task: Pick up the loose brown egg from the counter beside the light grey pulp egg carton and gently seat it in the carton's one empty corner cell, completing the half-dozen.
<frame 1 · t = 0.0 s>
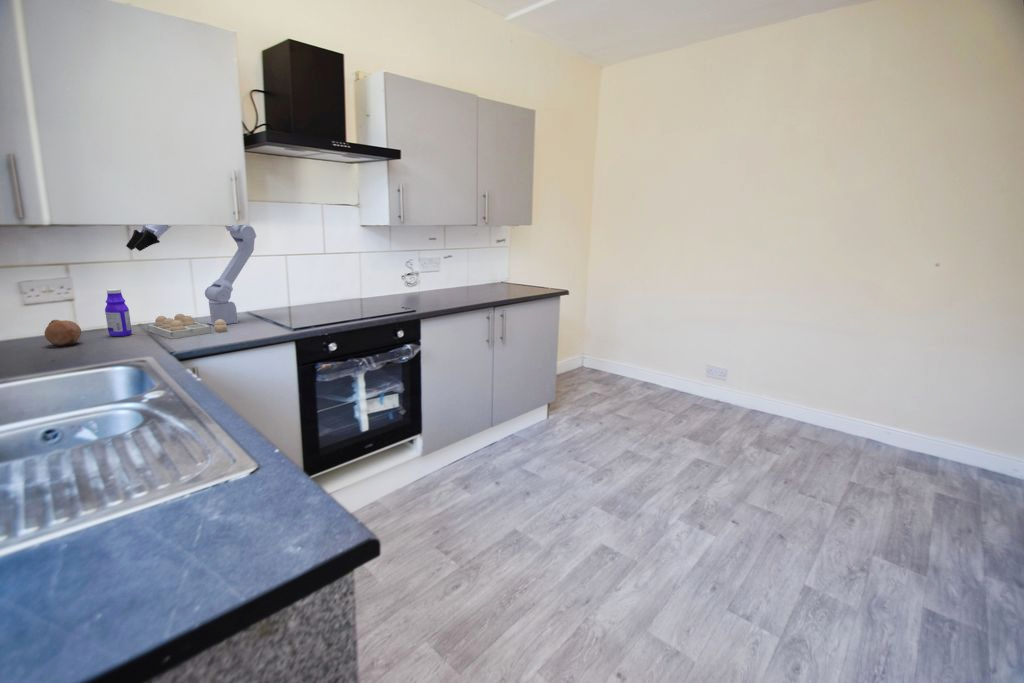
hand: (132, 248, 184), 32 cm above the worktop, tool tilted 50°, fingers open, 7 cm apart
egg: (221, 331, 199), on the worktop
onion: (65, 345, 174), on the worktop
carton: (179, 332, 196), on the worktop
bottle: (121, 335, 189), on the worktop
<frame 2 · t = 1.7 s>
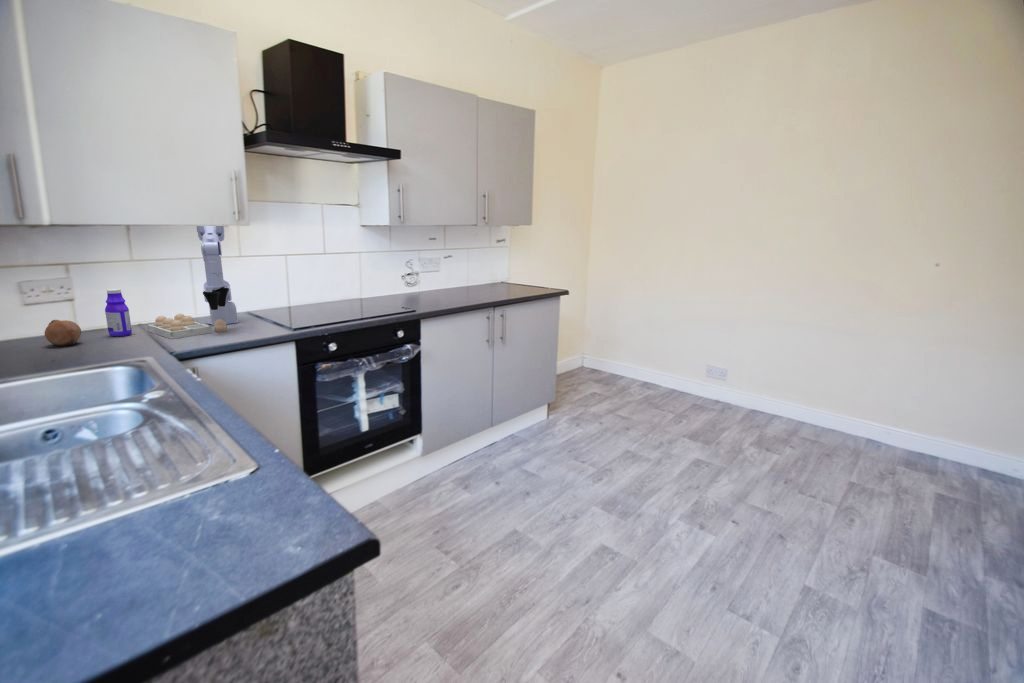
hand: (218, 308, 197), 9 cm above the worktop, tool pointing down, fingers open, 7 cm apart
nothing on the worktop moved.
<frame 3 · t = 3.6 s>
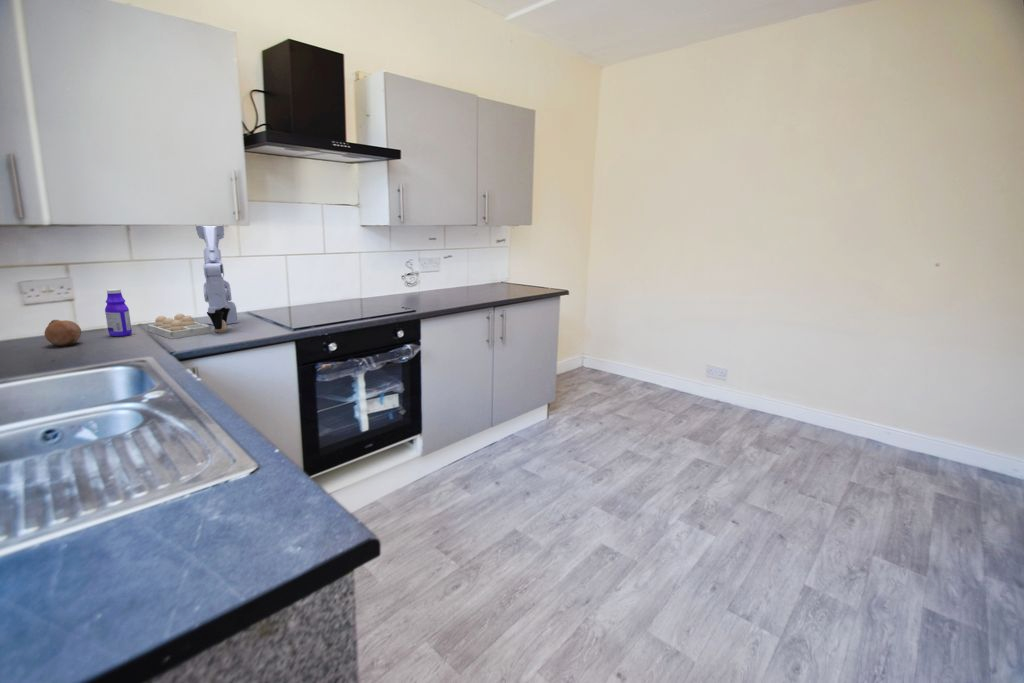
hand: (220, 327, 199), 1 cm above the worktop, tool pointing down, fingers closed on egg, 4 cm apart
egg: (221, 331, 199), on the worktop, touching gripper
everything else where it was.
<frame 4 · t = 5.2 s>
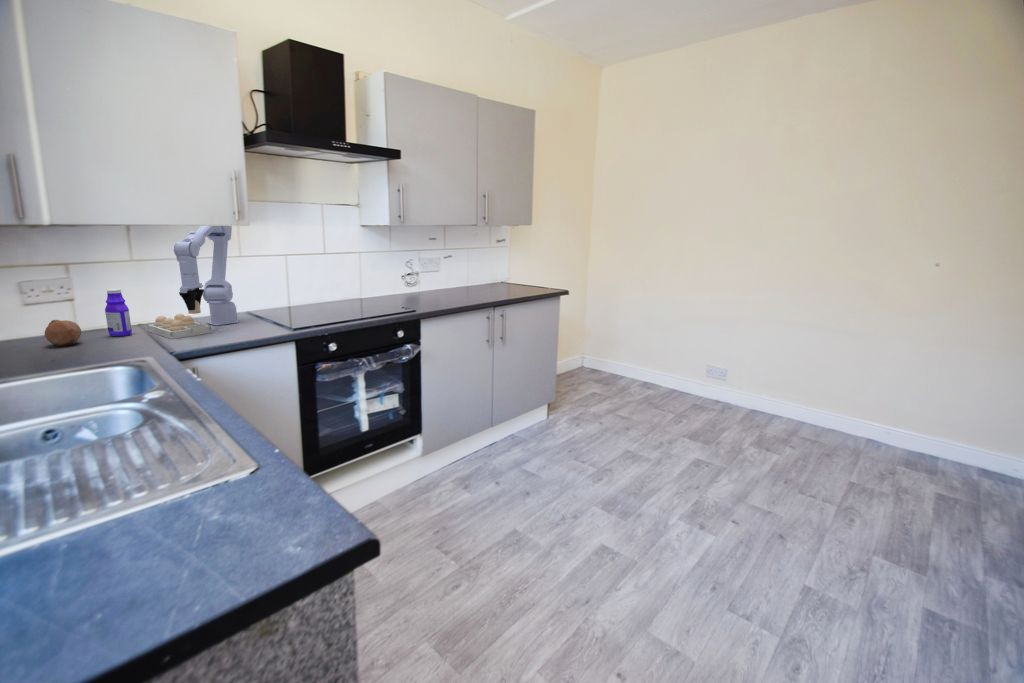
hand: (194, 309, 193), 9 cm above the worktop, tool pointing down, fingers closed on egg, 4 cm apart
egg: (194, 312, 194), point 8 cm above the worktop, touching gripper
everything else where it was.
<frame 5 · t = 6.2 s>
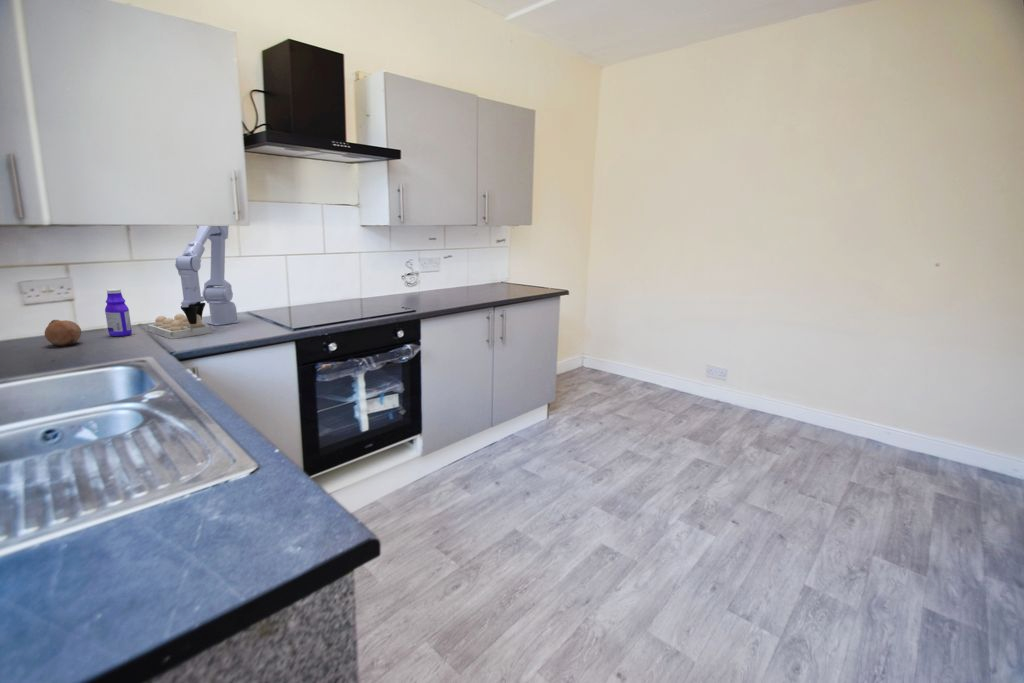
hand: (195, 322, 194), 4 cm above the worktop, tool pointing down, fingers closed on egg, 4 cm apart
egg: (196, 326, 195), point 3 cm above the worktop, touching gripper
everything else where it was.
when the fingers open (4 cm above the worktop, at t = 7.0 s): egg drops 1 cm, resting on carton.
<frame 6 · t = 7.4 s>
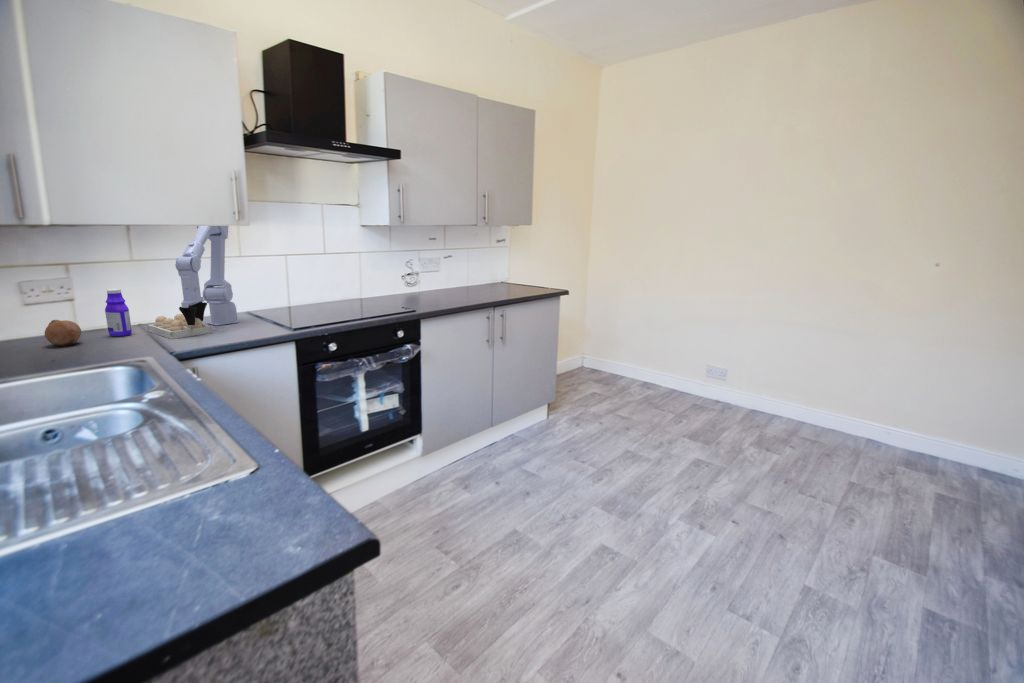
hand: (195, 323, 194), 4 cm above the worktop, tool pointing down, fingers open, 7 cm apart
egg: (196, 330, 195), point 1 cm above the worktop, touching carton
everything else where it was.
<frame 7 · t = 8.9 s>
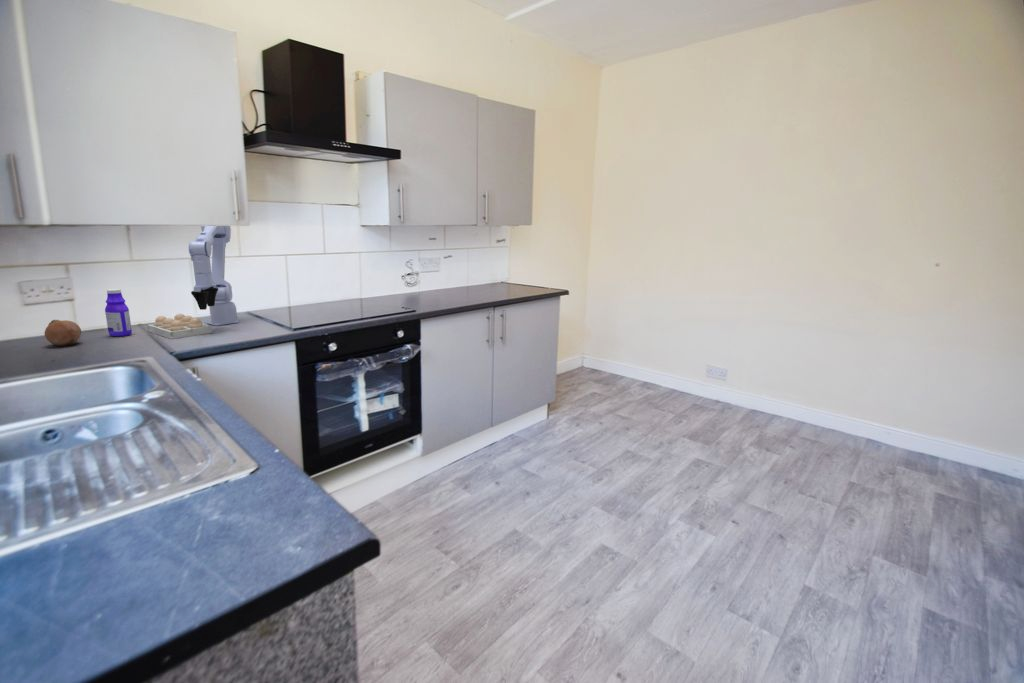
hand: (207, 307, 197), 9 cm above the worktop, tool pointing down, fingers open, 7 cm apart
nothing on the worktop moved.
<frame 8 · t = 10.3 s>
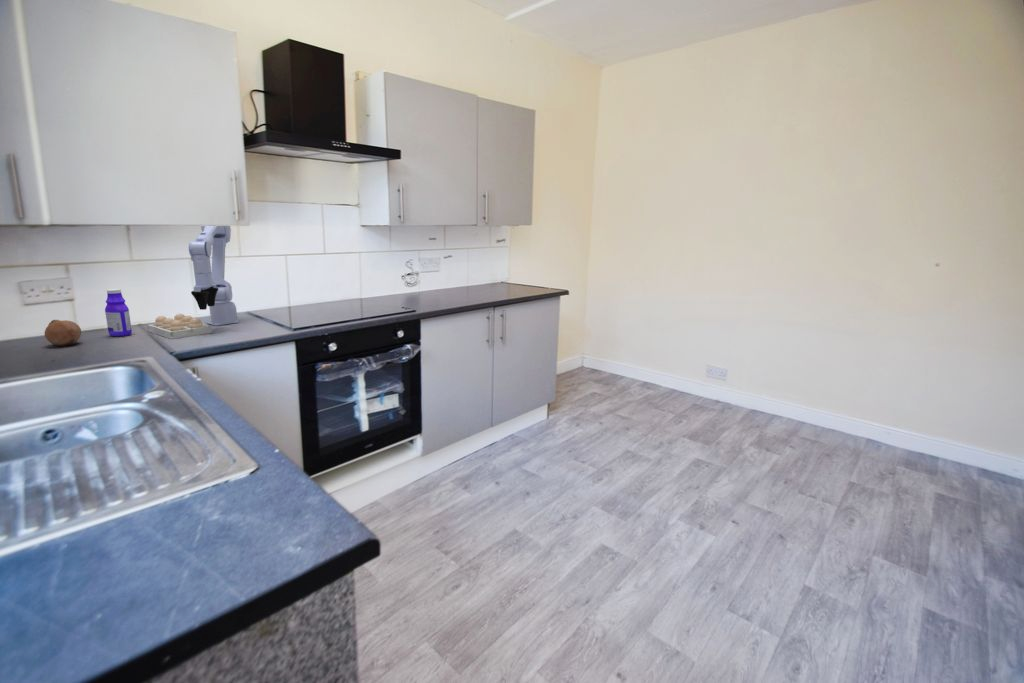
hand: (207, 307, 197), 9 cm above the worktop, tool pointing down, fingers open, 7 cm apart
nothing on the worktop moved.
at the end: egg 0.0 cm from the target spot on the carton, point 1.0 cm above the carton's base; egg tilted 1°; the gripper is holding nothing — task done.
